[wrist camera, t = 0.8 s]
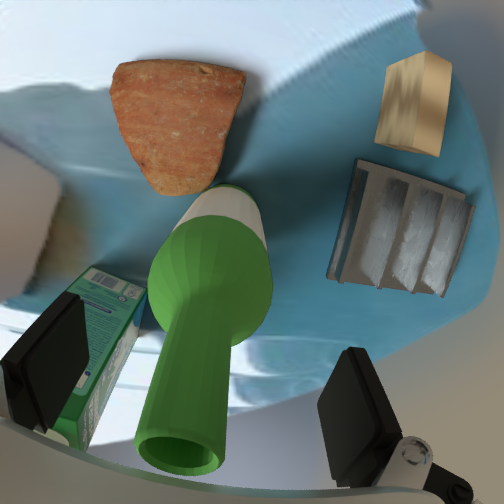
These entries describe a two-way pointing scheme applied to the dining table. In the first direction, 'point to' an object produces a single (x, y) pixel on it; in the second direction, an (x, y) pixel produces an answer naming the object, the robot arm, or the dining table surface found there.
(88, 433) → the milk carton
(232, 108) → the ceramic shard
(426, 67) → the oak board
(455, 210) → the rack
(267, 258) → the wine bottle
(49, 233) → the dining table surface
